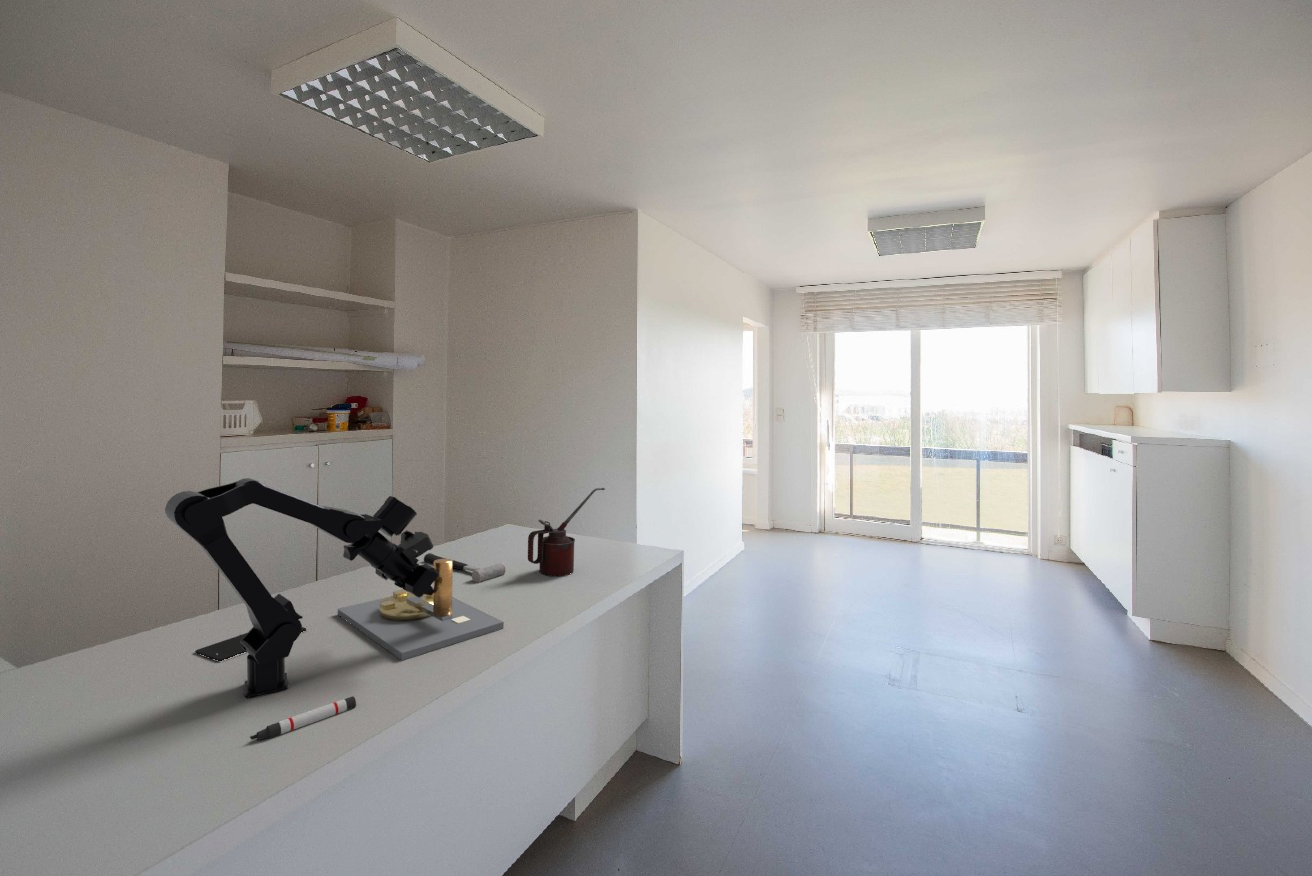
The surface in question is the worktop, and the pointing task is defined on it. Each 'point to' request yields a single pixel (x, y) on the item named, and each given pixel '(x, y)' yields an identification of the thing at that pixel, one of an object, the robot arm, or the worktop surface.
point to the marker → (306, 718)
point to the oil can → (555, 547)
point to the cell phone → (225, 648)
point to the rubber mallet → (473, 568)
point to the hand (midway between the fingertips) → (432, 593)
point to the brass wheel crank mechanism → (423, 599)
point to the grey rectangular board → (419, 628)
